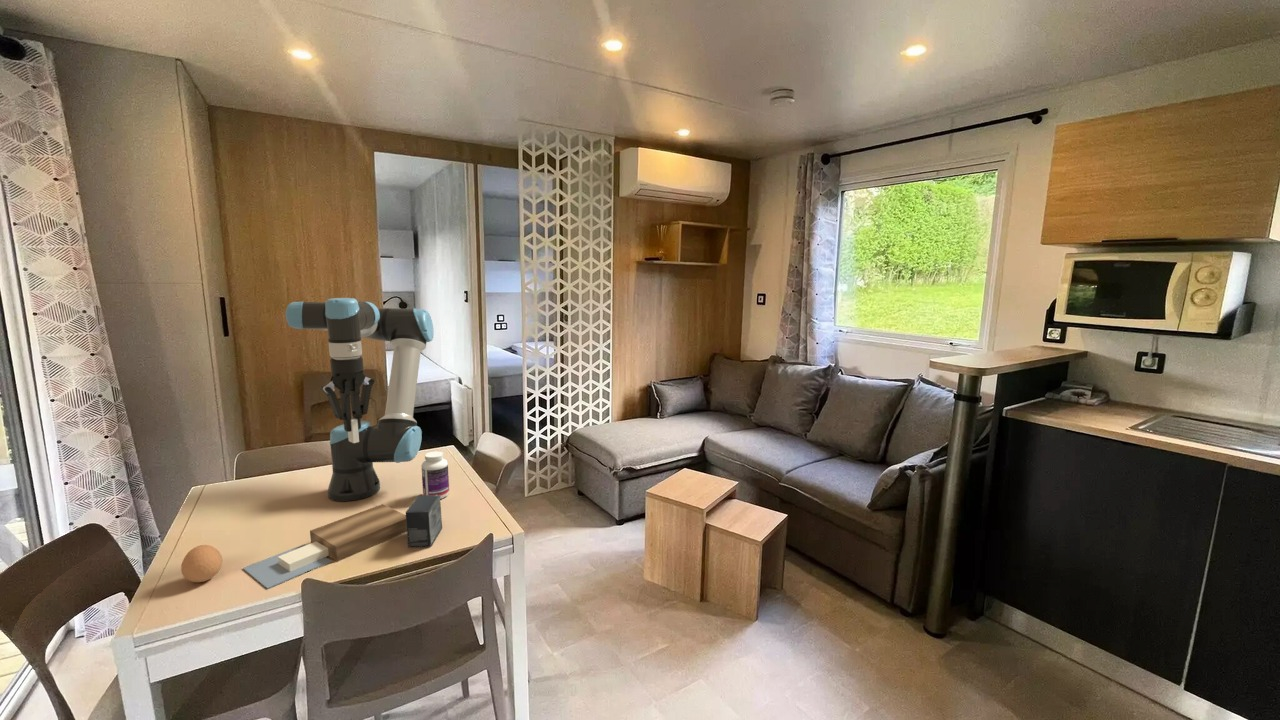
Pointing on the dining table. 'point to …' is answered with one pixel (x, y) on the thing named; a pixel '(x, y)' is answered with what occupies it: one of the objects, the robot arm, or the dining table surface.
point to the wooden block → (360, 531)
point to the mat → (279, 570)
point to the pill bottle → (435, 475)
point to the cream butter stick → (303, 556)
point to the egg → (201, 563)
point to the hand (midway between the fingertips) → (353, 441)
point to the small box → (423, 521)
